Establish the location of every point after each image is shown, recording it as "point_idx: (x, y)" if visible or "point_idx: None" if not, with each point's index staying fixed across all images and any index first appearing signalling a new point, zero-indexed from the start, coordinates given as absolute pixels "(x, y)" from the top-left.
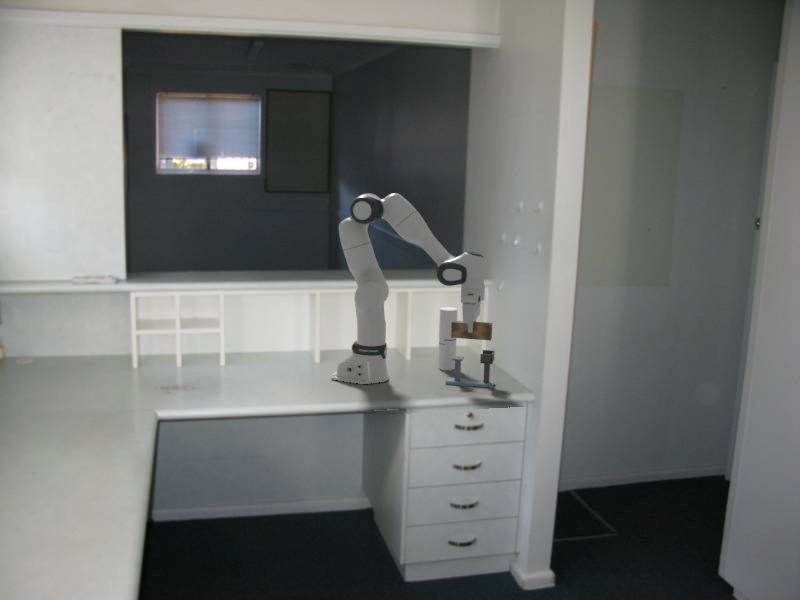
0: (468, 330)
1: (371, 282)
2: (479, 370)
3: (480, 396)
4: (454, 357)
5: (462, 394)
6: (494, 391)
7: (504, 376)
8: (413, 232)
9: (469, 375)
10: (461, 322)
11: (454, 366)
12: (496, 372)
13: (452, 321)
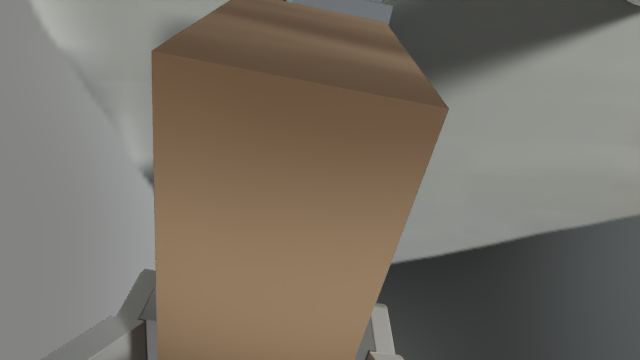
0: (135, 289)
1: None
2: (573, 141)
3: (118, 120)
4: (344, 10)
5: (119, 32)
6: None
7: (454, 235)
8: None
9: (483, 86)
10: (195, 286)
11: (638, 2)
12: (523, 211)
13: (267, 83)
